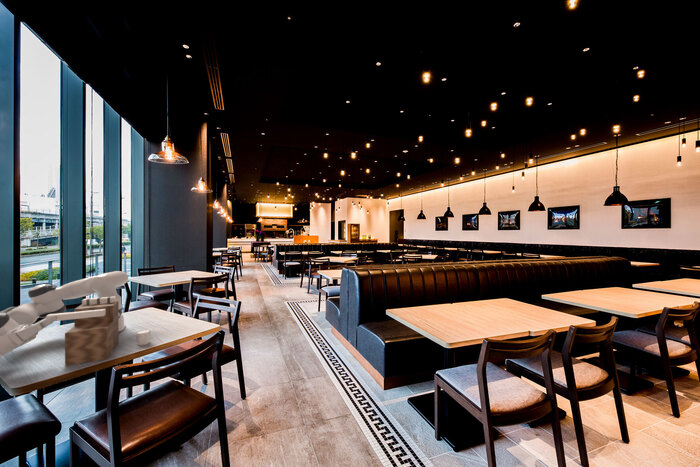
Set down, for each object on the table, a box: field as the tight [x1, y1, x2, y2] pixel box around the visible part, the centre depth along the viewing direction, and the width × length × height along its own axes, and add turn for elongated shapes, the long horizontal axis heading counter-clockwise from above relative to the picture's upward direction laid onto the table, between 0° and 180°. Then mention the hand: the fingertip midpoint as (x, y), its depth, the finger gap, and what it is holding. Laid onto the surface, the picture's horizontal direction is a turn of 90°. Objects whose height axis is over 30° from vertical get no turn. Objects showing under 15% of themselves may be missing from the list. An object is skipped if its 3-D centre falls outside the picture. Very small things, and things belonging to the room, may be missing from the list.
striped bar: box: [81, 296, 116, 305], centre depth 161 cm, size 14×3×3 cm, turn 118°
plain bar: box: [46, 309, 106, 322], centre depth 146 cm, size 22×3×3 cm, turn 118°
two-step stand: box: [64, 301, 120, 367], centre depth 153 cm, size 16×24×25 cm, turn 28°
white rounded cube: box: [135, 329, 151, 346], centre depth 167 cm, size 7×7×7 cm
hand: (58, 316), depth 142 cm, fingers closed on plain bar, 3 cm apart
